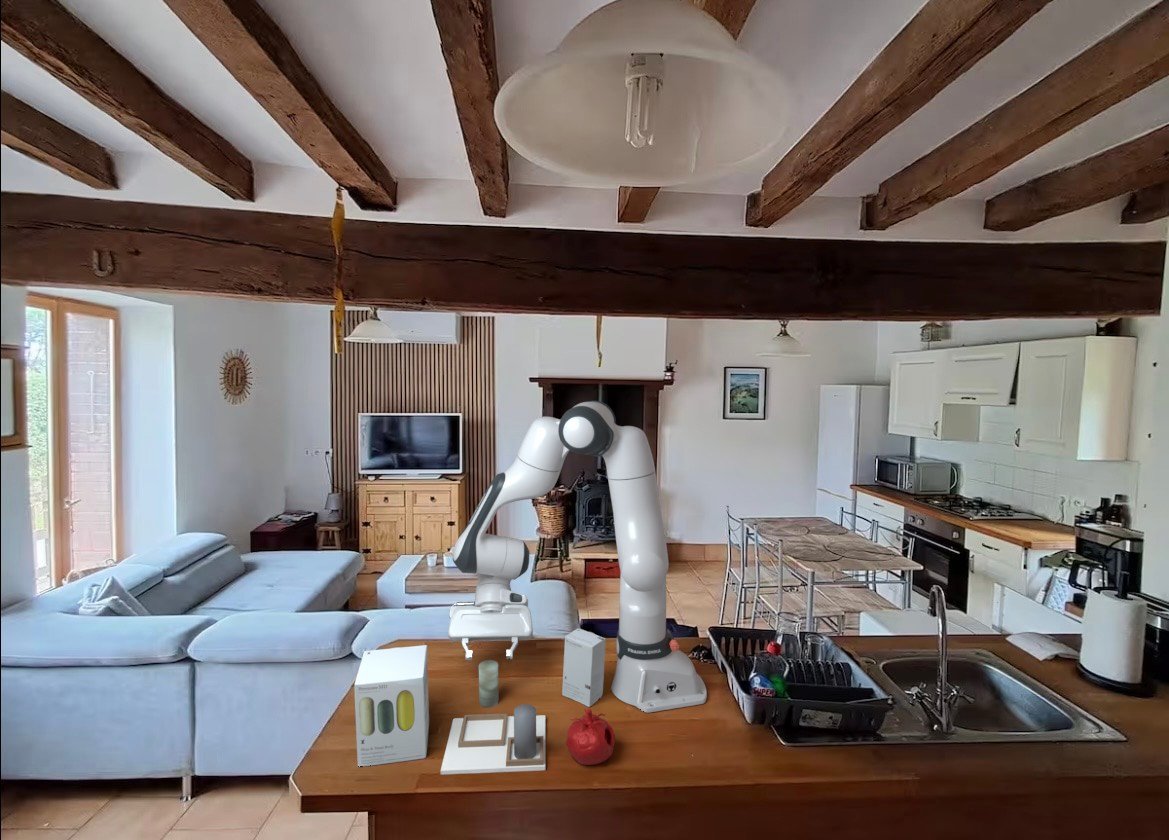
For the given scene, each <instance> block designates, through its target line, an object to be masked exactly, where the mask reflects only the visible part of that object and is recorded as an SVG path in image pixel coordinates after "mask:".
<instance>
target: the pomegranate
mask: <svg viewBox="0 0 1169 840" xmlns="http://www.w3.org/2000/svg"><path fill="white" fill-rule="evenodd" d="M584 712H585V715H582V716H581V717H579V718H577V717H575V718H570V719H569V720H570V721H573V722H572V723H571V725H570V726H569V727H568V729H567V733H566V740H565V744H566V748H567V751H568V753H569V755H570V756H571V757H573V759H574V760H575V761H577V762H578V763H579V764H581V765H584V766H585V765H588V766H589V765H590V766H591V765H598V764H601V763H603V762H605V761H607V760H608V759H609V758H610V757H611V756H612V754H613V751H614V746H615V741H616V734H615V731H614V728H613V727H612V725H611V724H609V723H608V721H607V720H606V719H603V718H602V717H605V715H606V713H605V714H603V713H599V714H597V715H596V714H594V713H593V711H592V709H591V708H589V709H586V708H585V709H584ZM601 716H602V717H601Z"/></svg>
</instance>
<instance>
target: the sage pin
mask: <svg viewBox="0 0 1169 840" xmlns="http://www.w3.org/2000/svg"><path fill="white" fill-rule="evenodd" d="M478 699H479V701H478V702H479V703H478V704H479V706H481V707H482V708H486V709H487V708H493V707H495V706H497V705H498V704H499V699H500V698H499V663H498V661H497V660H496V661H495V660H492V659H486V660H482V661H481V662H480V663H479V664H478Z"/></svg>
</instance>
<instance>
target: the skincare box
mask: <svg viewBox="0 0 1169 840" xmlns="http://www.w3.org/2000/svg"><path fill="white" fill-rule="evenodd" d="M606 643H607V639H606V637H604V636H603V637H602V636H600V635H597V634H595V633H594V632H592V631H587V630H584V629H582V628H576V629H574V630H573V631H571V632H569V633H568V634H566V635H564V649H563V652H564V653H563V654H564V655H563V666H562V667H563V671H562V688H561V689H562V691H561V694H562V696H563V697H565V698H567V699H570V700H572V701H575V702H578V703H579V704H582V705H584V706H586V707H588V708H590V707H591V706H593V705H594V704H596V702H598V701H599V700H600V699H601V698H602V697H603V696H604V695H603V694H604V676H605V662H606V661H605V658H606V657H605V656H606ZM602 695H603V696H602ZM601 696H602V697H601ZM599 698H600V699H599ZM598 699H599V700H598Z"/></svg>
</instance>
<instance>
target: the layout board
mask: <svg viewBox="0 0 1169 840" xmlns="http://www.w3.org/2000/svg"><path fill="white" fill-rule="evenodd" d="M448 735H449V736H448V740H447V744H446V748H445V752H444V755H443V759H442V763H441V768H440V775H442V776H443V775H461V774H464V775H465V774H486V773H487V774H488V773H509V772H510V773H511V772H533V771H534V772H536V771H539V772H540V771H546V715H543V714H541V715H537V709H536V707H535V706H534V705H532V704H527V703H525V704H521V705H518V706H516V707H515V708H514V710H513V715H512V716H511V715H509V716H508V713H486V714H485V713H483V714H482V713H480V714H464V715H463V717H459V718H458V717H457V718H453V720H452V723H451V727H450V731H449V734H448Z"/></svg>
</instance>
